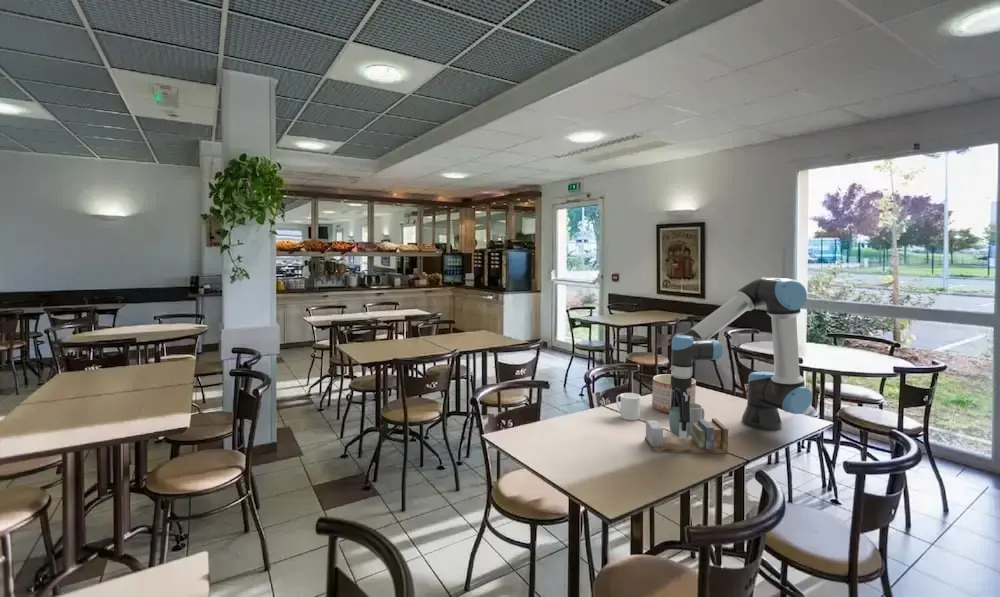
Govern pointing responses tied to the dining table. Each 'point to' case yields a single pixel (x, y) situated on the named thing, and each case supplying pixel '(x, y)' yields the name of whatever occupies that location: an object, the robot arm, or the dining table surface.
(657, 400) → the planter
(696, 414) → the mug
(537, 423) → the dining table surface
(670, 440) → the caddy
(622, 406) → the mug
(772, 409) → the robot arm
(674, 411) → the cup
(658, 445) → the bookend
